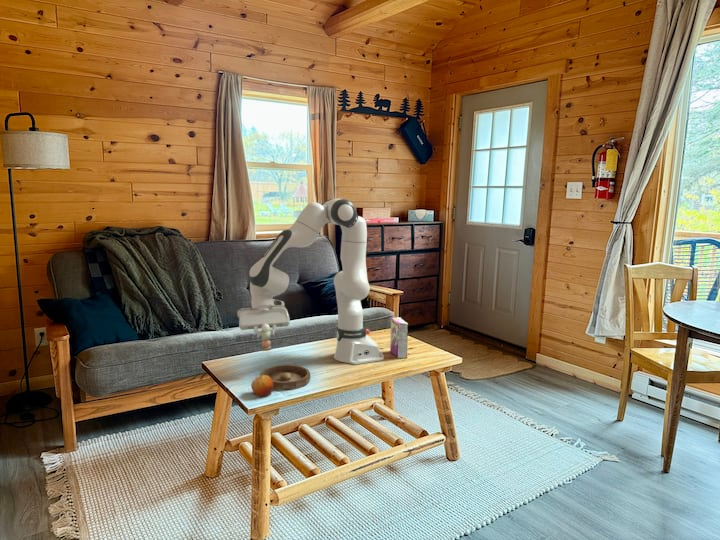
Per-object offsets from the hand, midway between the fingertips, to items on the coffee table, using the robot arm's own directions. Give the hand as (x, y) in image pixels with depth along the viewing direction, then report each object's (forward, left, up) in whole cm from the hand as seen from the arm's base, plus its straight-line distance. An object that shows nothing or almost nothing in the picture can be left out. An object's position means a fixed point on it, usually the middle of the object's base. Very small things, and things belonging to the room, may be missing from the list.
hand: (266, 336), depth 198 cm
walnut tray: (-7, +7, -16) cm, 19 cm away
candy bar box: (-62, -12, -17) cm, 65 cm away
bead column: (0, -1, -5) cm, 5 cm away
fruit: (+3, +18, -17) cm, 25 cm away
